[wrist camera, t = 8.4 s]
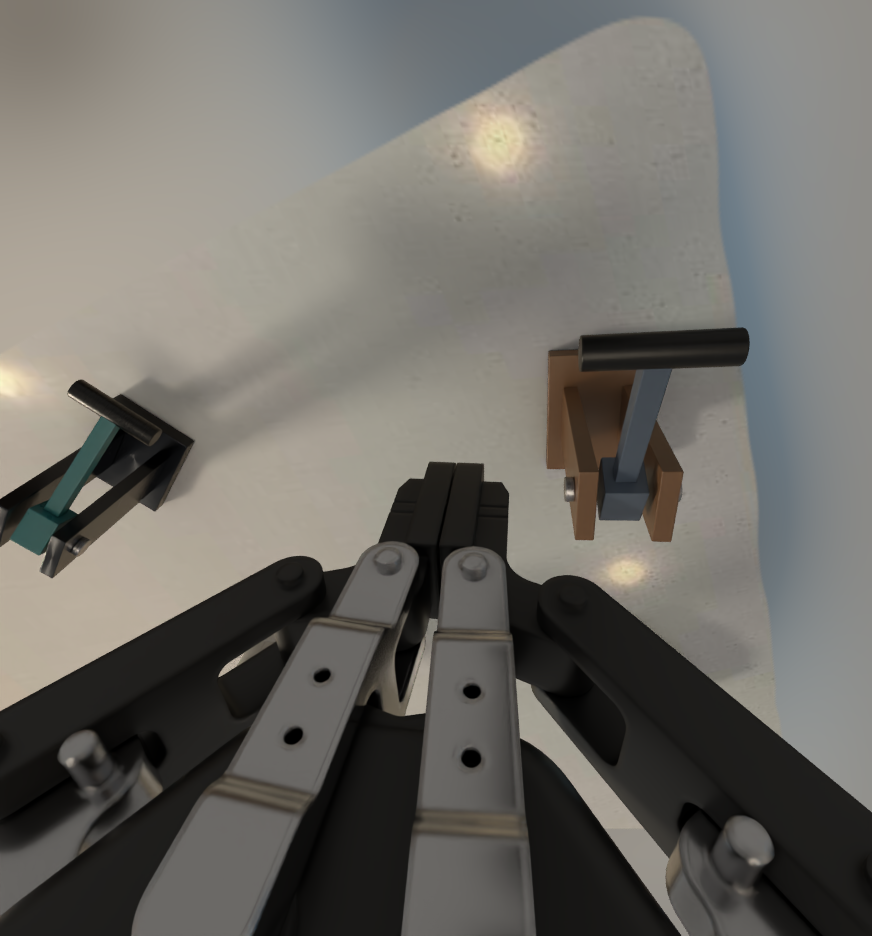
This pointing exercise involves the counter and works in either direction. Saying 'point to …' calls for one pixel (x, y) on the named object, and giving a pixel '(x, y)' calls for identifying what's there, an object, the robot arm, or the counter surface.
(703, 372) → the counter surface
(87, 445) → the far lever
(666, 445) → the near bracket
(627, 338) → the near lever
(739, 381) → the counter surface
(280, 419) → the counter surface
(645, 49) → the counter surface
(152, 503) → the far bracket
